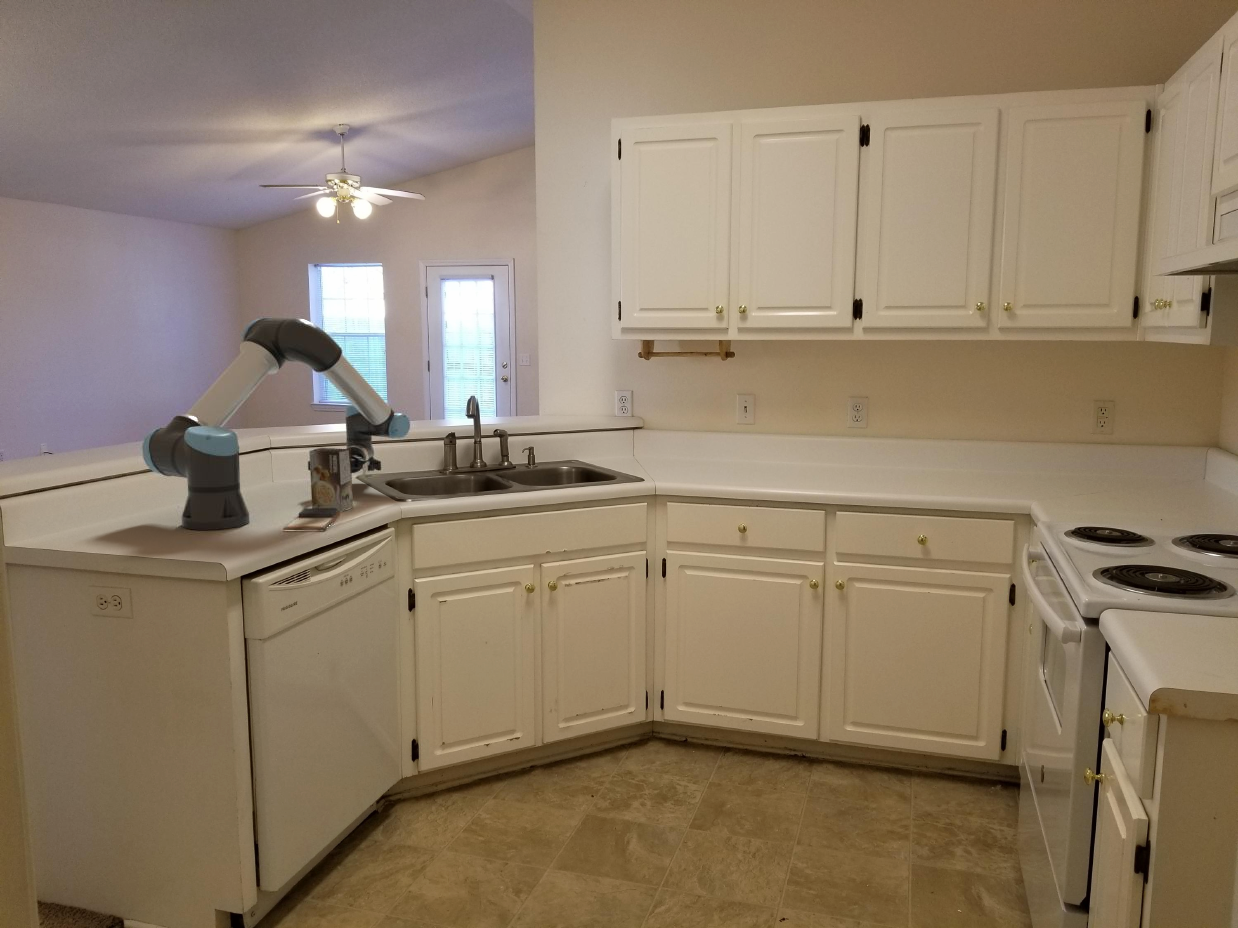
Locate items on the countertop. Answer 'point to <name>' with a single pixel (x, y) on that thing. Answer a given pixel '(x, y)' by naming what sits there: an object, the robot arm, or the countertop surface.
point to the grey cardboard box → (331, 478)
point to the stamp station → (313, 519)
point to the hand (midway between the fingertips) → (339, 470)
